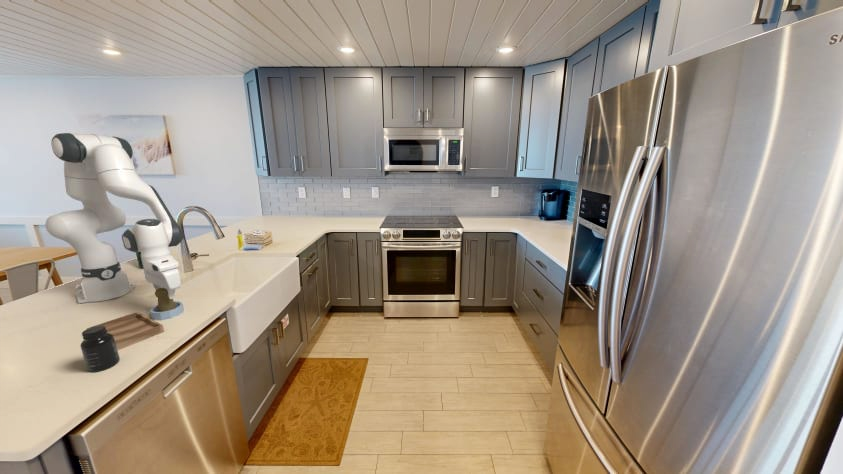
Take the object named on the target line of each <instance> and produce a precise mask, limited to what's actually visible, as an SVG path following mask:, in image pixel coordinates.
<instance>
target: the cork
mask: <svg viewBox="0 0 843 474" xmlns="http://www.w3.org/2000/svg"><path fill="white" fill-rule="evenodd" d="M167 294H168V291H167V289H165V288H163V287H161V288H159V289H157V290H155V291H154V296H155V297H156V298H157V305H158V312H164V311H169V310H172V309H175V308H176V306H175V303H174V301H175V300H174V298H172V299H170V298H168V295H167Z"/></svg>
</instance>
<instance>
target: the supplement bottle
mask: <svg viewBox="0 0 843 474" xmlns="http://www.w3.org/2000/svg"><path fill="white" fill-rule="evenodd" d="M94 326H95V325H94ZM91 327H92V326H91ZM88 328H89V327H88ZM81 337H82V339H83V340H82V342H81V343H80V345H79V347H80V350H81V353H82V356H83V359H84V362H85V366H86V368H87V371H88V372H92V373H97V372H99V373H100V372H103V371H106V370H108V369H111V368H112V367H114V366H116V365H117V364H118V363H119V362H120V360H121V358H120V354H119V350H117V347H116V343H115V340H114V337H113V335H112V334H110V333H107V330H106V327H105V326H95V327H92V328H89V329H87V328H86V329H85V330H83V331H82V332H81Z"/></svg>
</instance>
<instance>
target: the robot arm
mask: <svg viewBox="0 0 843 474" xmlns="http://www.w3.org/2000/svg"><path fill="white" fill-rule="evenodd" d="M50 142H51V149H52V152H53V154H54V155H55V156H56V158H58V159H60V161H63V175H64V185H65V191H66V192H65V193H66V195H68V197H70V198H71V199H73V200H76V201H79V202H81V203H82V207H83V208H82V209H81V208H80V209H76V210H75V209H74V210H67V211H62V212H59V213H55V214H53V215H50V216H48V218H47V219H46V220H45V230H46V231H47V233H49V234H50V236H52V237H54V238H56V239H59V240H61V241H65V243H67V244H69V245H70V246H71V247H72V248H73V249H74V251H75V252H76V254H77V256H78V259H79V263H80V266H81V268H80V274H81V276H82V277H81V279H80V283H78V284H76V285H75V289H76V291H75V297H76V301H77V303H78V304H83V303H84V304H85V303H93V302H94V303H97V302H102V301H108V300H112V299H115V298H119V297H122V296H124V295H127V294H128V293H129V292H131V291H132V290H135V288H136V286H135V285H133V284H131V283H130V280H129V277H128V274H127V272H125V271H123V270H122V267H121V264H120V262H119V261H118V258H117V257H118V256H117V254H116V250H115V247H114V246H113V245H112V244H111V243H109V242H105V241H101V240H100V239H99V237H98V235H97V234H103V233H107V232H112V231H115V230H117V229H119V228H122V227H123V226H125V224H126V221H127V216H126V214H125V212H124V211H123V210H122V209H121V208H119V207H117V206H116V205H114V204H113V203H112V202H111V201H110V199H109V198H108V195H107V194H108V193H109V194H111V195H114V196H115V197H118V198H124V199H129V200H135V201H138V202H141V203H144V204H146V205H147V206H148V207H149V208H150V209H151V211H152V213H153V215H154V216H155V217H156V218H146V219H140V220H138V221H136V222H135V223H134V226H133V227H131V228H128V229H126V230H124V232H123V233H122V235H121V240H122V243H123V247H124V249H125V250H127V251H129V252H133V253H136V252H141V260H142V264H143V268H142V269H143V274H144V279H145V281H146V282H147V283H151V284H152V286H153V288H154V289H155V291H156V290H157V289H159V288H162V287H163V288H165V289H167V291H168V294H167V295H168V298H170V299H172V298H173V299H175V298H176V294H175V292H176V289H181V285H182V283H181V281H182V280H181V275H180V270H179V267H180V264H179V263H180V262H178V261H177V260H176V259H175V258H174V256H173V254H172V251H171V249H170V248H172V247H177V246H178V245H180V244H181V243H182V241H183V240H184V236H185V235H184V231H183V229H182V228H181V226H180V224H179V223H178V222H177V221H176V220H175V218H174V217H173V215H172V214H171V212H170V210H169V209H168V206H167V205H166V204H165V202H164V201H163V199H162V197H161V196H160V194H159V192H158V191H157V190H156V188H155V187H154V186H152V185H150V184H148V183H146V182H145V181H144V180H143V179H142V178H141V177H140V176H139V174H138V172H137V170H136V166H135V164H134V163H133V161H132V159H133V156H134V155H133V153H134V152H133V148H132V145H131V144H130V142H128V141H127V140H126V139H124V138H121V137H117V136H108V135H103V134H96V133H95V134H94V133H91V134H89V133H70V132H64V133H63V132H62V133H56V134H55V135H54V136H53V137H52V139H51V141H50ZM107 192H108V193H107Z"/></svg>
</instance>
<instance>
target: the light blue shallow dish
mask: <svg viewBox="0 0 843 474" xmlns="http://www.w3.org/2000/svg"><path fill="white" fill-rule="evenodd" d="M173 301H174V303H175V306H176V308H175V309H172V310H169V311H164V312H158V304H157V305H155V306H153V307H152V308H151V309H150V310H149V314H150V317H151V319H152V320H154V321H165V320H169V319H172V318H175V317H178V316H180V315H181V314H183V313H184V311H185V308H184V303H183V302H182V301H179V300H177V301H175V300H173ZM164 319H165V320H164Z"/></svg>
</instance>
